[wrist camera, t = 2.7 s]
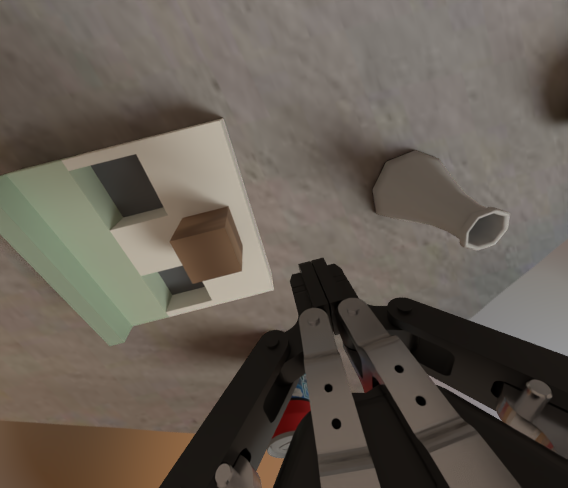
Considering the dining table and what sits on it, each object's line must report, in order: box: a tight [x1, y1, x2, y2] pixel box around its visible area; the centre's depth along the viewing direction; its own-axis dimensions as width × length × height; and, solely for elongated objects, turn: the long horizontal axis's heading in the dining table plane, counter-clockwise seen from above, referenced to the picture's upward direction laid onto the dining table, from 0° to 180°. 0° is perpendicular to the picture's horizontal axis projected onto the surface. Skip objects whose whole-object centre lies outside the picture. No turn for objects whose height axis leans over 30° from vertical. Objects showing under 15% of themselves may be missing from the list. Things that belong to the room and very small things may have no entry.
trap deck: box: [0, 118, 274, 346], centre depth 22 cm, size 17×16×5 cm
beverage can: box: [267, 374, 311, 458], centre depth 30 cm, size 7×7×12 cm
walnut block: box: [169, 206, 243, 284], centre depth 19 cm, size 4×4×4 cm
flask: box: [373, 150, 510, 251], centre depth 21 cm, size 7×7×10 cm
